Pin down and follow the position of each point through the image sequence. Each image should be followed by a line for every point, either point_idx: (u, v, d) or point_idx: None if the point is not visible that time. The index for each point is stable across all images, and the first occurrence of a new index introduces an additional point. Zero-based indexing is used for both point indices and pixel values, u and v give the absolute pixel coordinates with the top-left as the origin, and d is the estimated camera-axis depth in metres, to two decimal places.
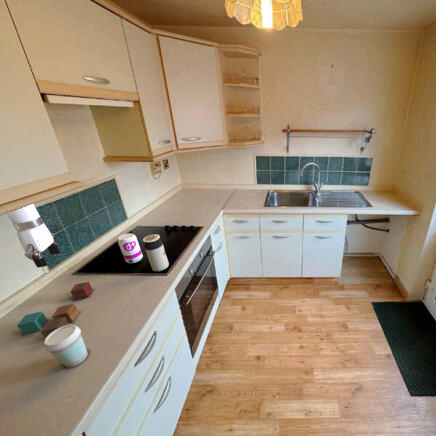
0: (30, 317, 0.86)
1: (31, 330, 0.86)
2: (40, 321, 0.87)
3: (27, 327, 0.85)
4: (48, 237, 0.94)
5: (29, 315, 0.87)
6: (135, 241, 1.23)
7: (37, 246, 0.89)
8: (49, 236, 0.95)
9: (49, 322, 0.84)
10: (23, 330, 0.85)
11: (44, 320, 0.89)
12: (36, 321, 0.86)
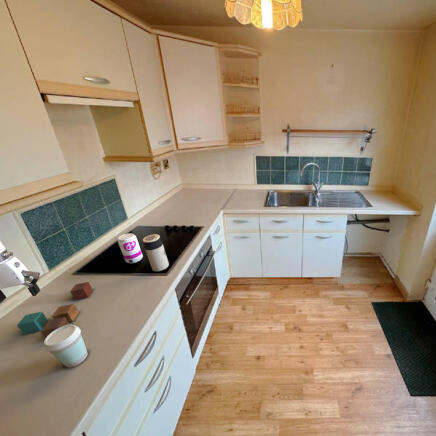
0: (30, 317, 0.86)
1: (31, 330, 0.86)
2: (40, 321, 0.87)
3: (27, 327, 0.85)
4: (5, 279, 0.77)
5: (29, 315, 0.87)
6: (135, 241, 1.23)
7: None
8: (10, 278, 0.78)
9: (49, 322, 0.84)
10: (23, 330, 0.85)
11: (44, 320, 0.89)
12: (36, 321, 0.86)
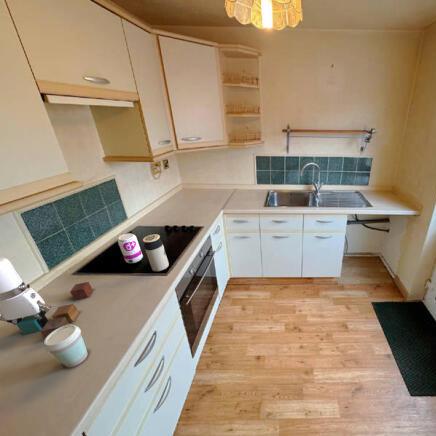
0: (30, 317, 0.86)
1: (31, 330, 0.86)
2: None
3: (27, 327, 0.85)
4: (22, 310, 0.82)
5: None
6: (135, 241, 1.23)
7: (1, 315, 0.81)
8: (26, 309, 0.82)
9: (49, 322, 0.84)
10: (23, 330, 0.85)
11: None
12: (36, 321, 0.86)
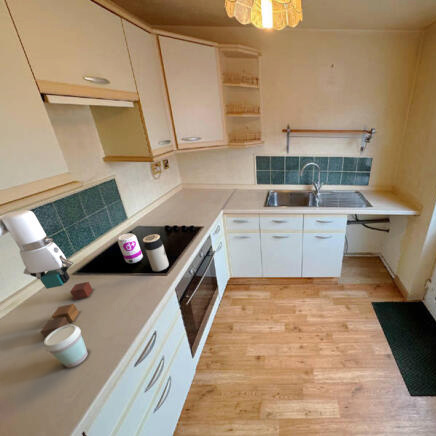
0: (52, 272, 0.89)
1: (54, 285, 0.88)
2: None
3: (50, 281, 0.87)
4: (46, 263, 0.84)
5: (51, 271, 0.90)
6: (135, 241, 1.23)
7: (26, 267, 0.83)
8: (50, 262, 0.85)
9: (49, 322, 0.84)
10: (46, 284, 0.87)
11: None
12: (59, 276, 0.88)
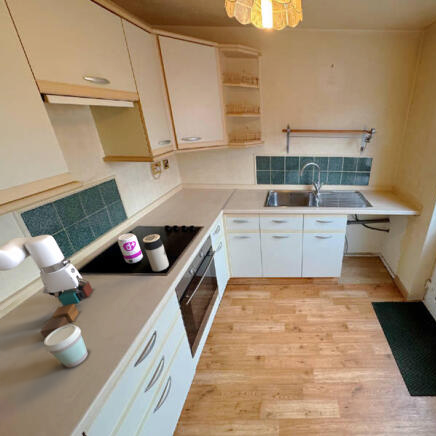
0: (69, 291, 0.94)
1: (70, 303, 0.94)
2: None
3: (67, 299, 0.93)
4: (64, 283, 0.90)
5: (68, 289, 0.95)
6: (135, 241, 1.23)
7: (45, 287, 0.89)
8: (67, 282, 0.90)
9: (49, 322, 0.84)
10: (64, 302, 0.93)
11: None
12: (75, 295, 0.94)
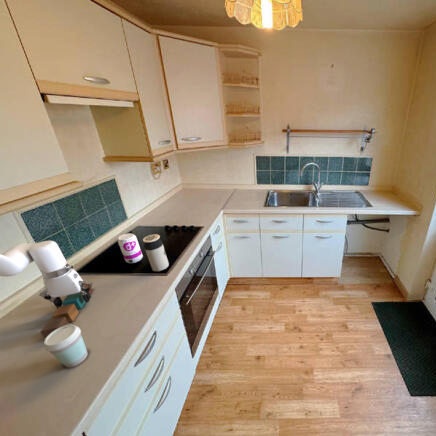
0: (72, 296, 0.96)
1: None
2: (81, 301, 0.97)
3: None
4: (66, 288, 0.91)
5: (71, 295, 0.96)
6: (135, 241, 1.23)
7: (48, 292, 0.90)
8: (70, 288, 0.91)
9: (49, 322, 0.84)
10: None
11: (83, 300, 0.99)
12: (78, 300, 0.95)
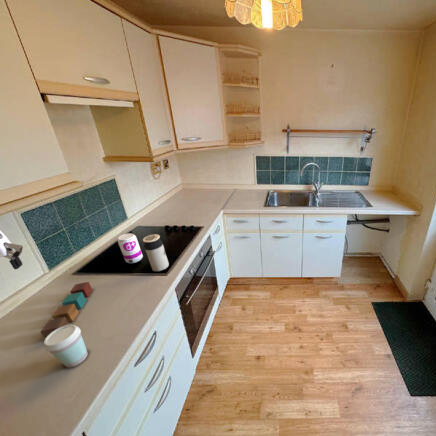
0: (72, 296, 0.96)
1: None
2: (81, 301, 0.97)
3: None
4: None
5: (71, 295, 0.96)
6: (135, 241, 1.23)
7: None
8: None
9: (49, 322, 0.84)
10: None
11: (83, 300, 0.99)
12: (78, 300, 0.95)
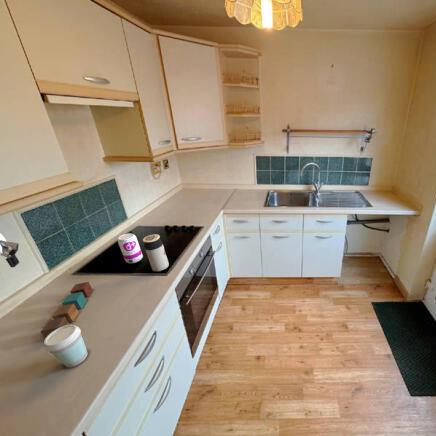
0: (72, 296, 0.96)
1: None
2: (81, 301, 0.97)
3: None
4: None
5: (71, 295, 0.96)
6: (135, 241, 1.23)
7: None
8: None
9: (49, 322, 0.84)
10: None
11: (83, 300, 0.99)
12: (78, 300, 0.95)
